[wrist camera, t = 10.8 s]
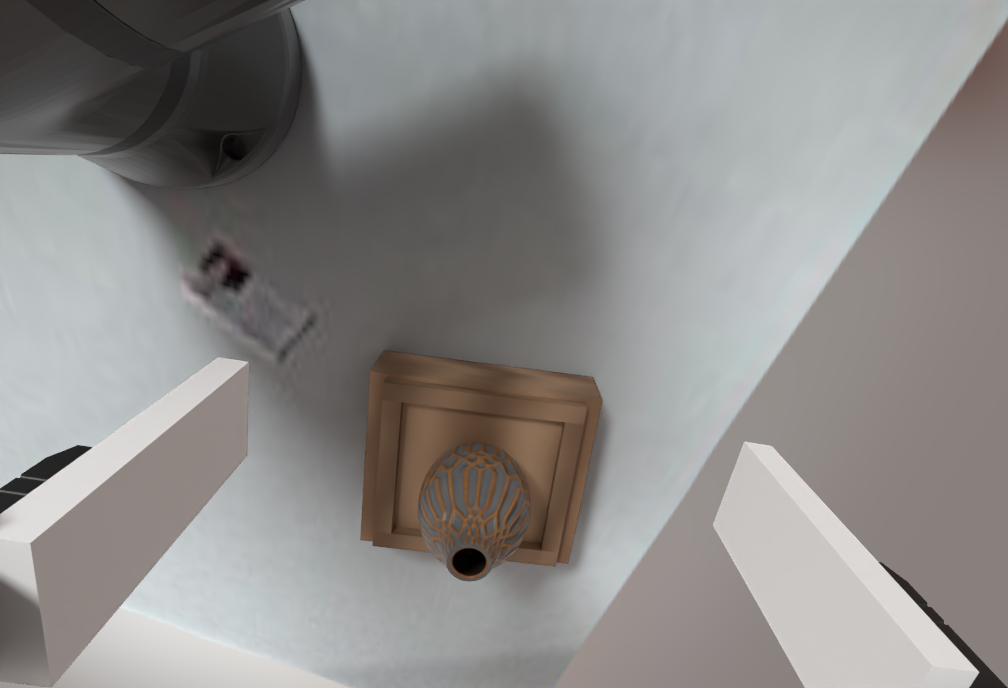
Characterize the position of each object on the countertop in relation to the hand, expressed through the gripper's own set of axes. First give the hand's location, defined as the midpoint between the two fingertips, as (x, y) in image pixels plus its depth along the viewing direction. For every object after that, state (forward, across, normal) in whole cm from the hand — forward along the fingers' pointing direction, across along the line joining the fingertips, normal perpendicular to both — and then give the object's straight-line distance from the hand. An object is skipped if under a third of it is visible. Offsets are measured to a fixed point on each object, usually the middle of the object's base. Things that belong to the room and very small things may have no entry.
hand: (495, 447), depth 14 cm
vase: (+19, +1, -13) cm, 23 cm away
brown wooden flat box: (+23, +1, -13) cm, 26 cm away
